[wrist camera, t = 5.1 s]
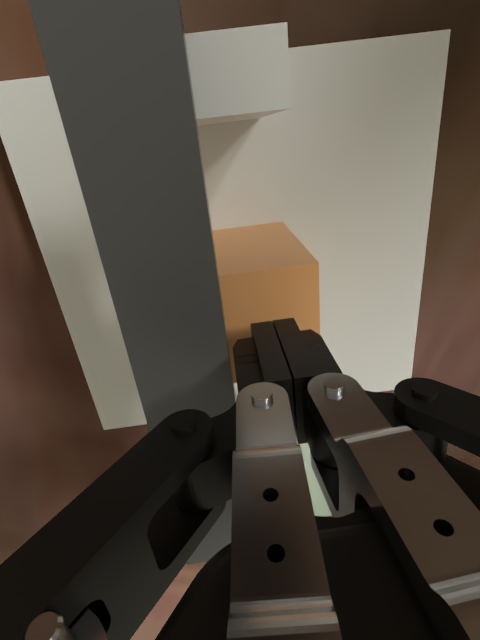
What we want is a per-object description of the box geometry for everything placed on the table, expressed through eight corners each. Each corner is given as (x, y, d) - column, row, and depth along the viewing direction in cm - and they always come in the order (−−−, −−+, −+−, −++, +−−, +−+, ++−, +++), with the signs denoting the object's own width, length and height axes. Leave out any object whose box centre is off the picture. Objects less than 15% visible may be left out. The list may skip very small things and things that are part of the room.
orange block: (282, 221, 19) (319, 263, 13) (289, 347, 23) (321, 428, 16) (194, 232, 19) (188, 279, 13) (214, 357, 22) (218, 443, 16)
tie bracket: (432, 37, 18) (604, -38, 10) (399, 374, 26) (479, 473, 18) (-1, 87, 17) (-166, 49, 10) (109, 414, 26) (67, 532, 18)
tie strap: (180, 6, 9) (174, -24, 8) (251, 511, 18) (256, 553, 16) (60, 19, 9) (25, -8, 8) (188, 521, 18) (186, 564, 16)
